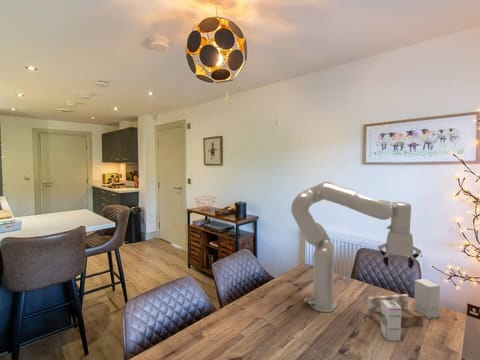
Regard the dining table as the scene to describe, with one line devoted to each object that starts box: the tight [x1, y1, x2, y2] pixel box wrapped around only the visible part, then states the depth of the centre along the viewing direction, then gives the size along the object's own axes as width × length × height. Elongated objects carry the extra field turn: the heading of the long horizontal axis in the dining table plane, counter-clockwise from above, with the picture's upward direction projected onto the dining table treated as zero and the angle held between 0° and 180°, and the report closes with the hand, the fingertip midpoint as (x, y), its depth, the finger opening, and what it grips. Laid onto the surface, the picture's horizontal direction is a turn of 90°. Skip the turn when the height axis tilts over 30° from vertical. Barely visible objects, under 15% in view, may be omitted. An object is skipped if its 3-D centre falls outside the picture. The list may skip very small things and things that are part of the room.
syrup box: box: [379, 300, 402, 342], centre depth 111 cm, size 6×6×14 cm
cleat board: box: [367, 293, 424, 328], centre depth 123 cm, size 20×11×9 cm, turn 98°
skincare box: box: [413, 278, 441, 319], centre depth 128 cm, size 8×7×16 cm
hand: (398, 266), depth 121 cm, fingers open, 9 cm apart
